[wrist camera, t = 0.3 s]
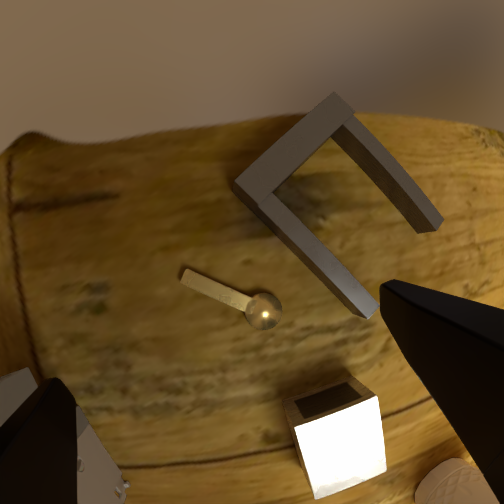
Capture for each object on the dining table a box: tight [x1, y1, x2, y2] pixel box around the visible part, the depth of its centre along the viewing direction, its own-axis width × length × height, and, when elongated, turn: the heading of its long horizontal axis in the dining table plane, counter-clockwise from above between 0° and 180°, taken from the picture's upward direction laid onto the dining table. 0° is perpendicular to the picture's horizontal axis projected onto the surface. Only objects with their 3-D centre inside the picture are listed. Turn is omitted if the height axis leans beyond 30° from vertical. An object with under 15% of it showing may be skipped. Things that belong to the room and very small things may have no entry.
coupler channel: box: [232, 92, 444, 319], centre depth 21 cm, size 12×9×3 cm
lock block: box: [282, 375, 387, 500], centre depth 20 cm, size 7×6×4 cm
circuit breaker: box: [0, 367, 130, 504], centre depth 12 cm, size 8×14×15 cm, turn 22°
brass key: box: [180, 268, 282, 330], centre depth 21 cm, size 7×2×1 cm, turn 66°
